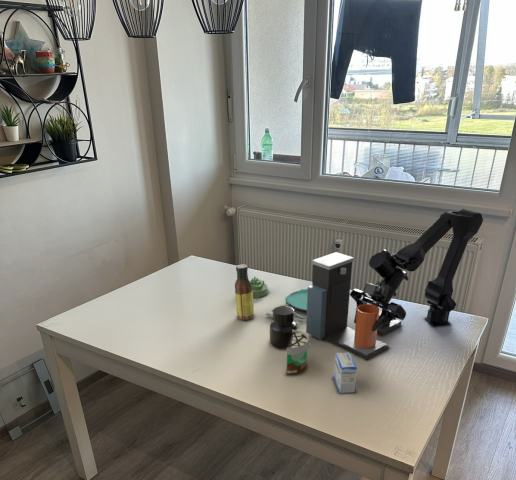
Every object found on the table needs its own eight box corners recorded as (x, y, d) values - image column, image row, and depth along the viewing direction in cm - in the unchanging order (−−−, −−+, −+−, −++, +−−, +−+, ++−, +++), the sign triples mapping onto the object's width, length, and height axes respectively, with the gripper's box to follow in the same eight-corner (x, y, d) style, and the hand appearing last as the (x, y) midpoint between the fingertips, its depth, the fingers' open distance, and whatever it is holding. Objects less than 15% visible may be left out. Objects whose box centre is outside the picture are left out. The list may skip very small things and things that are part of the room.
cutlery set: (348, 303, 188) (348, 297, 187) (298, 330, 170) (298, 324, 168) (307, 289, 200) (308, 284, 199) (257, 313, 182) (257, 308, 180)
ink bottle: (291, 334, 167) (291, 302, 161) (302, 346, 160) (303, 313, 154) (264, 339, 164) (264, 307, 158) (274, 352, 157) (274, 318, 151)
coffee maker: (331, 322, 175) (336, 251, 162) (388, 347, 158) (399, 271, 145) (304, 334, 167) (307, 261, 154) (361, 362, 150) (369, 284, 137)
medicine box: (333, 378, 143) (335, 352, 139) (348, 377, 144) (350, 351, 139) (339, 393, 136) (341, 367, 132) (355, 392, 137) (357, 366, 132)
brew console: (377, 316, 178) (378, 307, 176) (400, 325, 171) (402, 316, 169) (358, 326, 172) (359, 317, 170) (381, 336, 165) (382, 326, 163)
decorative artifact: (272, 292, 198) (256, 285, 205) (272, 276, 195) (255, 270, 201) (254, 299, 192) (238, 292, 199) (253, 283, 189) (237, 276, 195)
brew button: (379, 314, 172) (379, 309, 171) (388, 318, 170) (389, 313, 169) (372, 317, 170) (372, 313, 169) (381, 321, 167) (382, 317, 166)
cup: (370, 337, 161) (374, 303, 155) (378, 347, 155) (382, 312, 149) (350, 339, 160) (353, 305, 154) (358, 350, 154) (362, 314, 148)
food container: (306, 379, 143) (308, 350, 138) (286, 377, 144) (286, 348, 139) (311, 358, 153) (312, 330, 148) (292, 356, 154) (292, 328, 149)
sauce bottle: (256, 314, 181) (254, 263, 171) (250, 322, 176) (248, 270, 166) (239, 312, 183) (237, 262, 173) (233, 319, 178) (231, 268, 168)
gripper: (355, 264, 155) (330, 306, 154) (405, 281, 142) (378, 326, 141) (369, 281, 163) (345, 321, 162) (417, 298, 150) (391, 341, 150)
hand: (363, 326), depth 154 cm, fingers closed on cup, 7 cm apart
